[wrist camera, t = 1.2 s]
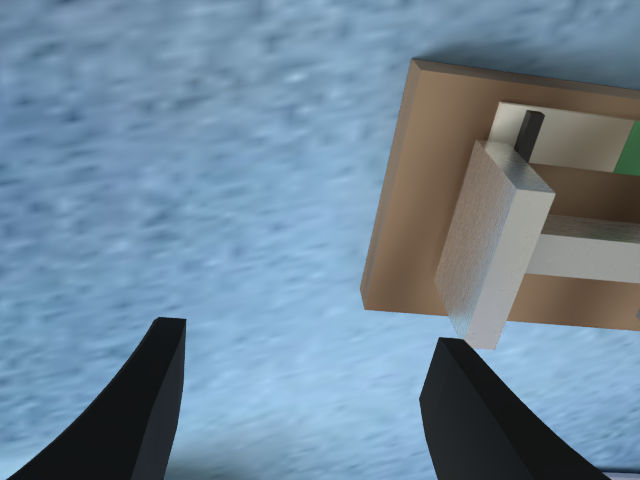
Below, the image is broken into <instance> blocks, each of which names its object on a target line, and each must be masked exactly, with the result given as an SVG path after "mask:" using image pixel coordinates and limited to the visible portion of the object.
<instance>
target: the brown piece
mask: <svg viewBox="0 0 640 480" xmlns="http://www.w3.org/2000/svg"><path fill="white" fill-rule="evenodd" d="M526 110H532V111H540V112H542V113H543V114H544V115H545V117H544V120H543V123H542V126H541V129H540V132H539V134H538V137H537V140H536V143H535V146H534V149H533V151H532V154H531V157H530V160H529V163H528V164H529V166H530V167H531V168H532V169H533V170H534V171H535V172H536V173H537V174H538V175H539V176H540V177H541V178H542V179H543V180H544V182H545V183H546V184H547V185H548V186H549V187H550V188H551V189H552V190H553V191H554V192H555V193H556V194H555V197H554V200H553V202H552V205H551V207H550V210H549V212H548V214H550V215H560V216H569V217H579V218H588V219H598V220H607V221H617V222H626V223H636V224H640V90H633V89H626V88H619V87H611V86H604V85H597V84H590V83H583V82H575V81H568V80H561V79H554V78H547V77H539V76H532V75H525V74H518V73H511V72H503V71H496V70H489V69H482V68H475V67H467V66H460V65H453V64H446V63H439V62H431V61H424V60H417V59H411V63H410V67H409V72H408V76H407V81H406V85H405V89H404V94H403V98H402V103H401V107H400V112H399V116H398V121H397V125H396V130H395V134H394V139H393V143H392V148H391V152H390V157H389V161H388V165H387V170H386V174H385V179H384V183H383V188H382V192H381V197H380V201H379V206H378V210H377V215H376V219H375V224H374V228H373V232H372V237H371V241H370V246H369V250H368V255H367V259H366V264H365V268H364V273H363V277H362V282H361V286H360V291H361V296H362V300H363V305H364V309H365V310H375V311H388V312H401V313H414V314H427V315H439V316H448V313H447V311H446V308H445V306H444V304H443V301H442V299H441V296H440V294H439V292H438V289H437V287H436V284H435V282H434V278H435V275H436V272H437V268H438V265H439V262H440V258H441V255H442V252H443V248H444V245H445V242H446V238H447V235H448V232H449V228H450V225H451V221H452V218H453V215H454V211H455V208H456V205H457V201H458V198H459V195H460V191H461V188H462V185H463V181H464V178H465V175H466V171H467V168H468V164H469V161H470V158H471V154H472V151H473V148H474V144H475V141H476V139H478V140H486V141H495V142H503V143H509V144H510V145H511V146H512V147H513V148H514V146H515V143H516V140H517V137H518V134H519V131H520V128H521V125H522V122H523V119H524V116H525V113H526ZM506 321H517V322H529V323H542V324H555V325H568V326H581V327H594V328H607V329H620V330H632V331H640V283H629V282H618V281H607V280H596V279H584V278H573V277H562V276H551V275H540V274H529V273H525V274H524V277H523V279H522V282H521V284H520V287H519V289H518V292H517V295H516V297H515V300H514V302H513V305H512V307H511V310H510V312H509V315H508V318H507V320H506Z"/></svg>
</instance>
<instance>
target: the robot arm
mask: <svg viewBox="0 0 640 480" xmlns="http://www.w3.org/2000/svg"><path fill="white" fill-rule="evenodd" d="M185 338H186V319H180V318H167V317H158V318H157V319H155V320H154V321H153V323H152V325H151V326H150V328H149V330H148V331H147V333H146V335H145V336H144V338H143V339H142V341H141V342H140V344H139V345H138V346H137V348H136V349H135V351H134V352H133V353H132V355H131V356H130V358H129V359H128V360H127V361H126V363H125V364H124V365H123V366H122V368H121V369H120V370H119V372H118V373H117V374H116V375H115V377H114V378H113V379H112V380H111V382H110V383H109V384H108V385H107V386H106V387H105V388H104V389H103V391H102V392H101V393H100V394H99V395H98V396H97V397H96V398H95V400H94V401H93V402H92V403H91V404H90V405H89V406H88V407H87V408H86V409H85V411H84V412H83V413H82V414H81V415H80V416H79V417H78V418H77V419H76V420H75V421H74V422H73V423H72V424H71V425H70V426H69V427H68V428H66V429H65V430H64V431H63V432H62V433H61V434H60V435H59V436H58V437H57V438H56V439H55V440H54V441H53V442H51V443H50V444H49V445H48V446H47V447H46V448H44V449H43V450H42V451H41V452H40V453H39V454H37V455H36V456H35V457H34V458H33V459H32V460H31V461H29V462H28V463H27V464H26V465H24V466H23V467H22V468H21V469H19V470H18V471H17V472H16V473H14V474H13V475H12V476H10V477H9V478H8V479H6V480H163V479H164V475H165V471H166V467H167V464H168V460H169V456H170V452H171V449H172V445H173V441H174V437H175V433H176V429H177V425H178V418H179V412H180V405H181V398H182V392H183V383H184V361H185ZM419 401H420V407H421V414H422V421H423V426H424V432H425V438H426V441H427V445H428V448H429V452H430V455H431V458H432V462H433V465H434V469H435V472H436V475H437V478H438V480H640V474H631V473H606V472H601V471H600V470H598V469H597V468H596V467H594V466H593V465H592V464H591V463H589V462H588V461H587V460H586V459H584V458H583V457H582V456H581V455H580V454H578V453H577V452H576V451H575V450H574V449H572V448H571V447H570V446H569V445H567V444H566V443H565V442H564V441H563V440H562V439H561V438H560V437H558V436H557V435H556V434H555V433H554V432H553V431H552V430H551V429H550V428H549V427H548V426H547V425H545V424H544V423H543V422H542V421H541V420H540V419H539V418H538V417H537V416H536V415H535V414H534V413H533V412H532V411H531V410H530V409H529V408H528V407H527V406H526V405H525V404H524V403H523V402H522V401H521V400H520V399H519V398H518V397H517V396H516V395H515V394H514V393H513V392H512V391H511V390H510V389H509V388H508V387H507V385H506V384H505V383H504V382H503V381H502V380H501V379H500V378H499V377H498V376H497V375H496V374H495V373H494V371H493V370H492V369H491V368H490V367H489V366H488V365H487V364H486V363H485V362H484V360H483V359H482V358H481V357H480V356H479V355H478V354H477V353H476V352H475V351H474V350H473V348H472V347H471V346H470V345H469V344H468V343H467V342H466V341H465V340H464V339H456V338H443V337H439V339H438V342H437V345H436V348H435V351H434V355H433V358H432V361H431V364H430V367H429V370H428V373H427V376H426V379H425V382H424V386H423V389H422V392H421V395H420V398H419Z"/></svg>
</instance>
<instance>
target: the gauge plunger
mask: <svg viewBox="0 0 640 480" xmlns="http://www.w3.org/2000/svg"><path fill="white" fill-rule="evenodd" d="M544 117H545V115H544V114H543V113H542V112H540V111H532V110H526V113H525V116H524V119H523V122H522V125H521V128H520V131H519V134H518V137H517V140H516V143H515V146H514V148H513V147H512V146H511V145H510V144H509V143H503V142H495V141H486V140H478V139H476V141H475V144H474V148H473V151H472V154H471V158H470V161H469V164H468V168H467V171H466V175H465V178H464V181H463V185H462V188H461V191H460V195H459V198H458V201H457V205H456V208H455V211H454V215H453V218H452V221H451V225H450V228H449V232H448V235H447V238H446V242H445V245H444V248H443V252H442V255H441V258H440V262H439V265H438V268H437V272H436V275H435V278H434V282H435V284H436V287H437V289H438V292H439V294H440V296H441V299H442V301H443V304H444V306H445V308H446V311H447V313H448V316H449V318H450V320H451V323H452V325H453V328H454V330H455V333H456V335H457V337H458V339H464V340H465V341H466V342H467V343H468V344H469V345H470V346H471V347H472V348H477V349H492V350H495V348H496V346H497V343H498V341H499V338H500V336H501V333H502V330H503V328H504V325H505V323H506V320H507V318H508V315H509V312H510V310H511V307H512V305H513V302H514V300H515V297H516V295H517V292H518V289H519V287H520V284H521V282H522V279H523V277H524V274H525V273H529V274H540V275H551V276H562V277H573V278H584V279H596V280H607V281H618V282H629V283H640V224H636V223H626V222H617V221H607V220H598V219H588V218H579V217H569V216H560V215H550V214H548V212H549V210H550V207H551V205H552V202H553V200H554V197H555V194H556V193H555V192H554V191H553V190H552V189H551V188H550V187H549V186H548V185H547V184H546V183H545V182H544V180H543V179H542V178H541V177H540V176H539V175H538V174H537V173H536V172H535V171H534V170H533V169H532V168H531V167H530V166H529V164H528V163H529V160H530V157H531V154H532V151H533V149H534V146H535V143H536V140H537V137H538V134H539V132H540V129H541V126H542V123H543V120H544Z"/></svg>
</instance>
